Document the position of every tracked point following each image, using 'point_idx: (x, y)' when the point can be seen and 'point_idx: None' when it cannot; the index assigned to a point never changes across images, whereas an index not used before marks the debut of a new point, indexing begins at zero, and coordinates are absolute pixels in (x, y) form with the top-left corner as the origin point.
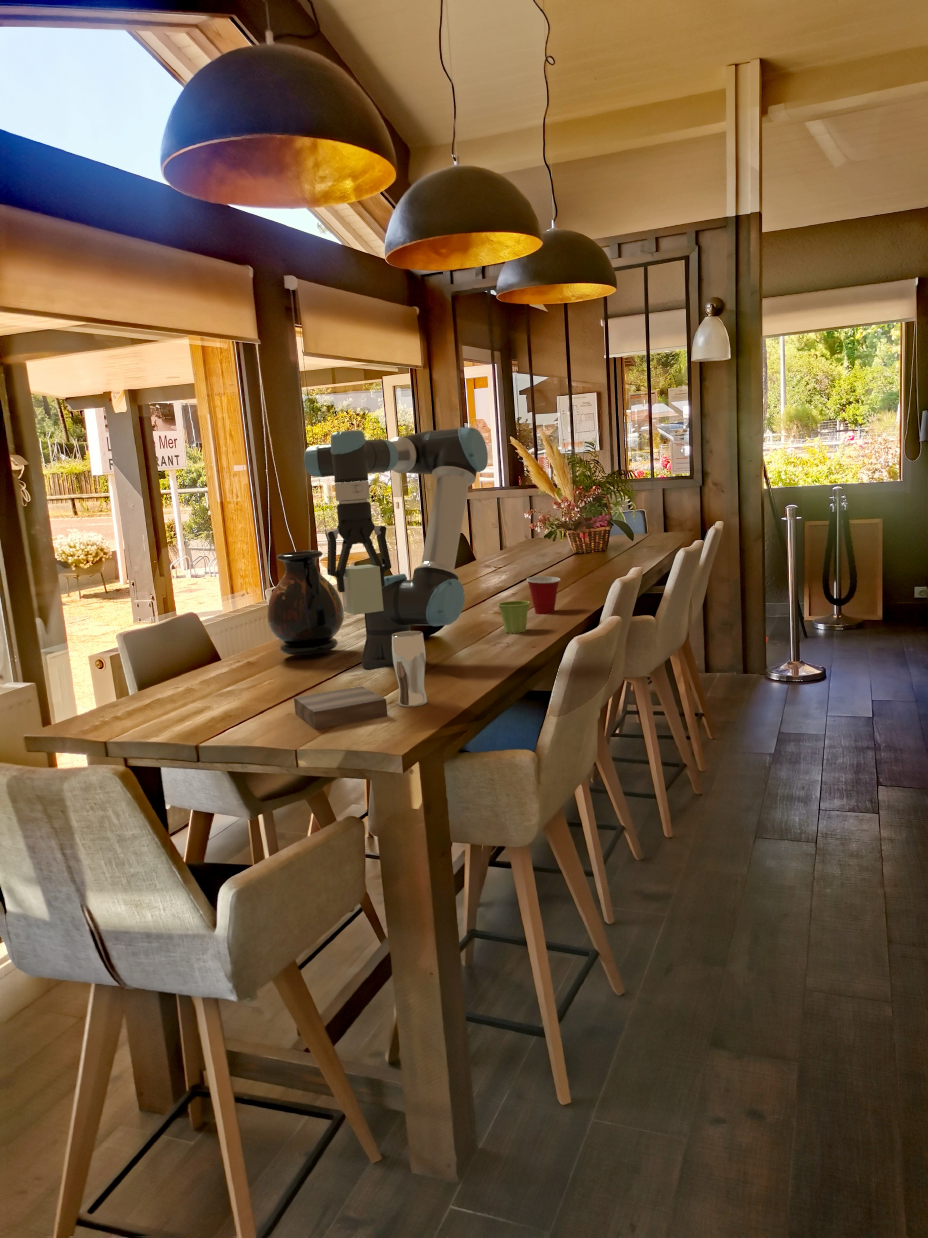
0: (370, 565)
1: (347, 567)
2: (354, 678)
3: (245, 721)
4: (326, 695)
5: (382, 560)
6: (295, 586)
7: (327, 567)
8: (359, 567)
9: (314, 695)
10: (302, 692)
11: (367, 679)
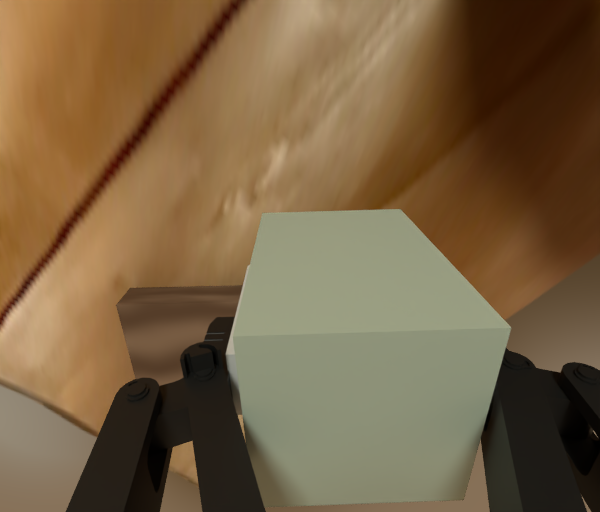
0: (465, 411)
1: (291, 373)
2: (318, 38)
3: (34, 281)
4: (180, 328)
5: (593, 427)
6: None
7: (101, 428)
8: (353, 449)
9: (158, 314)
10: (160, 109)
11: (342, 81)
